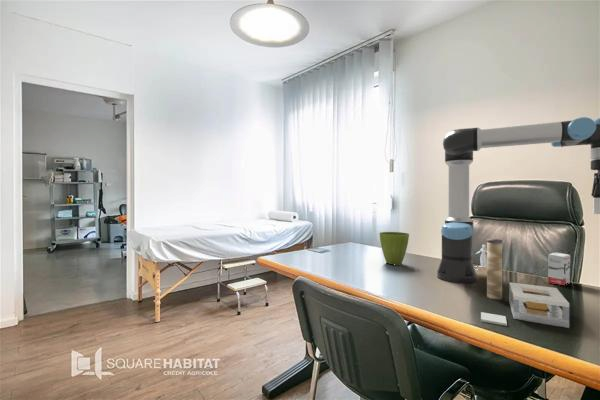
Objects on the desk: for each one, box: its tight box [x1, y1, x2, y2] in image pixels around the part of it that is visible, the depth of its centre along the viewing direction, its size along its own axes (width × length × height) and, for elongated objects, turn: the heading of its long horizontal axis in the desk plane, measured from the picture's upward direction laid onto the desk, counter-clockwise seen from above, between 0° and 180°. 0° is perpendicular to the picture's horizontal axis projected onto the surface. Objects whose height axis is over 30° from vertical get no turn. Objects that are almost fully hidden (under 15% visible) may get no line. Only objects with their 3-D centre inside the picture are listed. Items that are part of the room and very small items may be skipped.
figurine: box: [475, 244, 487, 268], centre depth 146 cm, size 9×9×12 cm
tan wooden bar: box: [486, 238, 503, 300], centre depth 104 cm, size 4×4×20 cm
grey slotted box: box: [508, 281, 570, 329], centre depth 89 cm, size 12×16×6 cm
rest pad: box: [480, 311, 508, 327], centre depth 85 cm, size 6×6×1 cm
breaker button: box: [525, 301, 547, 310], centre depth 89 cm, size 5×5×2 cm
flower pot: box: [378, 231, 410, 266], centre depth 157 cm, size 15×15×16 cm
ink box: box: [547, 252, 571, 286], centre depth 121 cm, size 8×5×12 cm, turn 123°
